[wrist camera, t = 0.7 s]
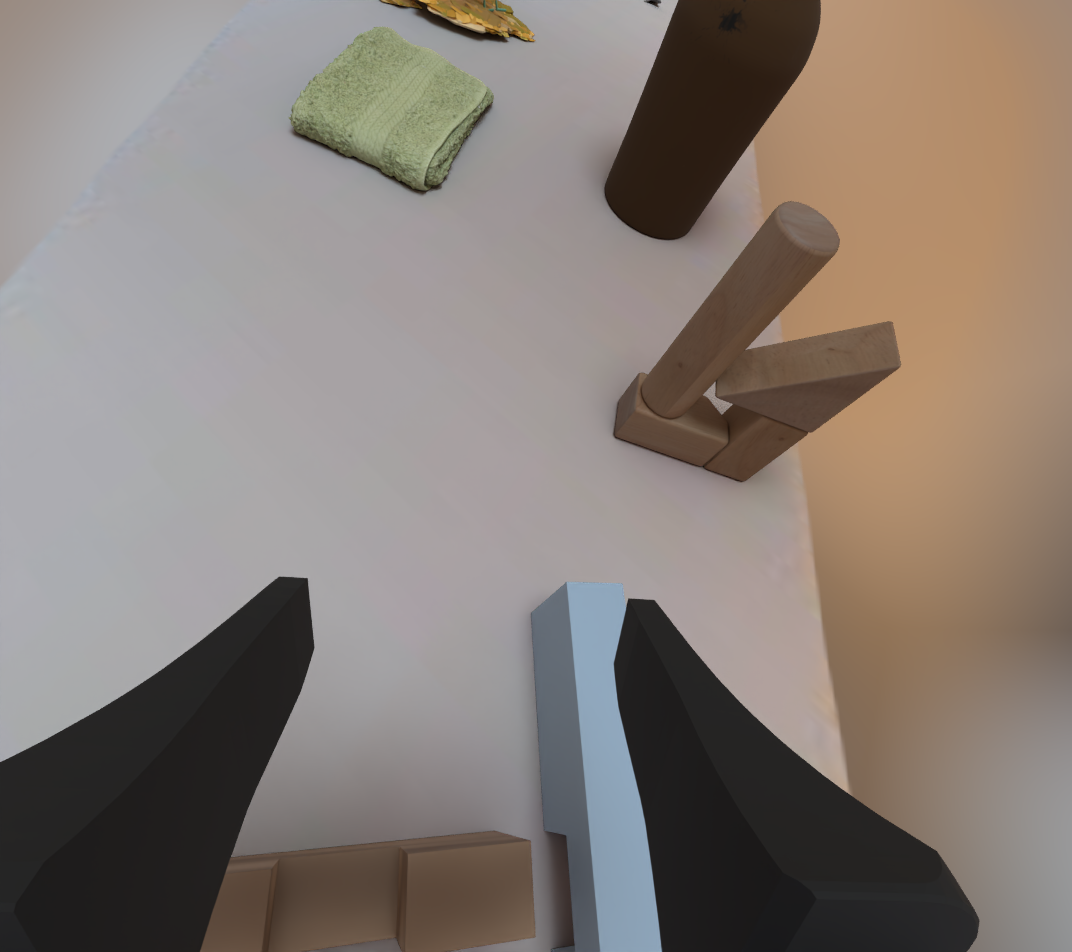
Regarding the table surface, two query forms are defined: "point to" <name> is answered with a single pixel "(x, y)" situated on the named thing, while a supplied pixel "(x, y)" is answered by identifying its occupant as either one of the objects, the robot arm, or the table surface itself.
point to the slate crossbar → (592, 770)
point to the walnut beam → (378, 896)
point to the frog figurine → (475, 15)
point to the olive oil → (706, 105)
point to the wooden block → (755, 360)
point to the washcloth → (392, 107)
